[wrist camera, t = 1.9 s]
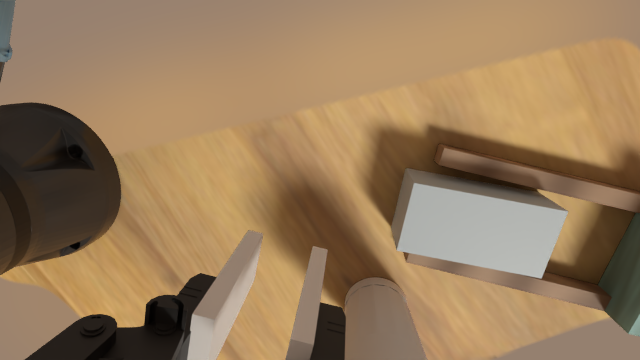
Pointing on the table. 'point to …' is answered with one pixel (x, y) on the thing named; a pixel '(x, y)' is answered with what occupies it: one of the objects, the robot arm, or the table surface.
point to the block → (476, 223)
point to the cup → (380, 323)
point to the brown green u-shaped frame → (609, 295)
